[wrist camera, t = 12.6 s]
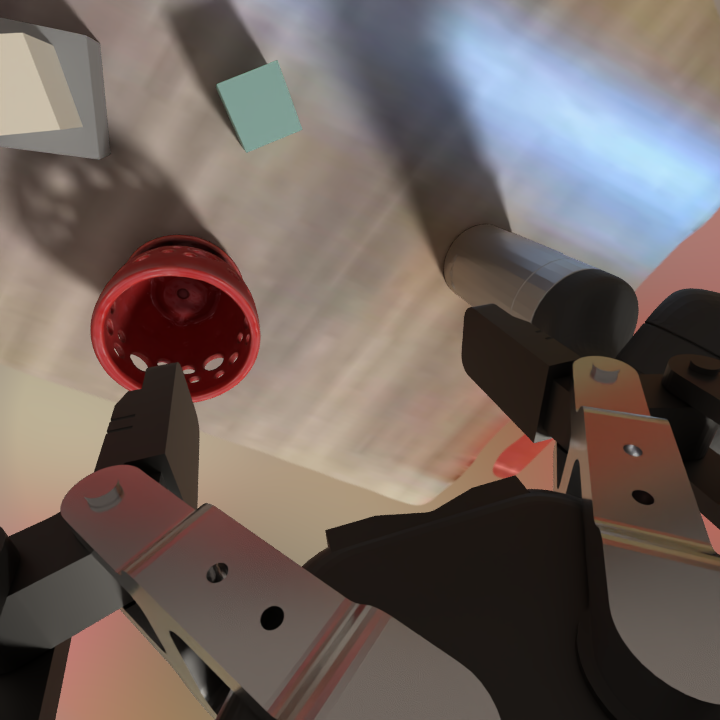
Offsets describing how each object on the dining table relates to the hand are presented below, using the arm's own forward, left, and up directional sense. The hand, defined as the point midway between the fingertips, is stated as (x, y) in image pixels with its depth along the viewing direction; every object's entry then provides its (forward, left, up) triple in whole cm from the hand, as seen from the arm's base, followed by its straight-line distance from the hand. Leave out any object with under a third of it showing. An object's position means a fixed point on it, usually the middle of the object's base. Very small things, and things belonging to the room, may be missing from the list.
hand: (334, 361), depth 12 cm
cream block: (+14, -8, -31) cm, 35 cm away
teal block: (-2, -6, -36) cm, 37 cm away
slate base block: (+14, -8, -36) cm, 40 cm away
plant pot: (+8, +10, -36) cm, 39 cm away
